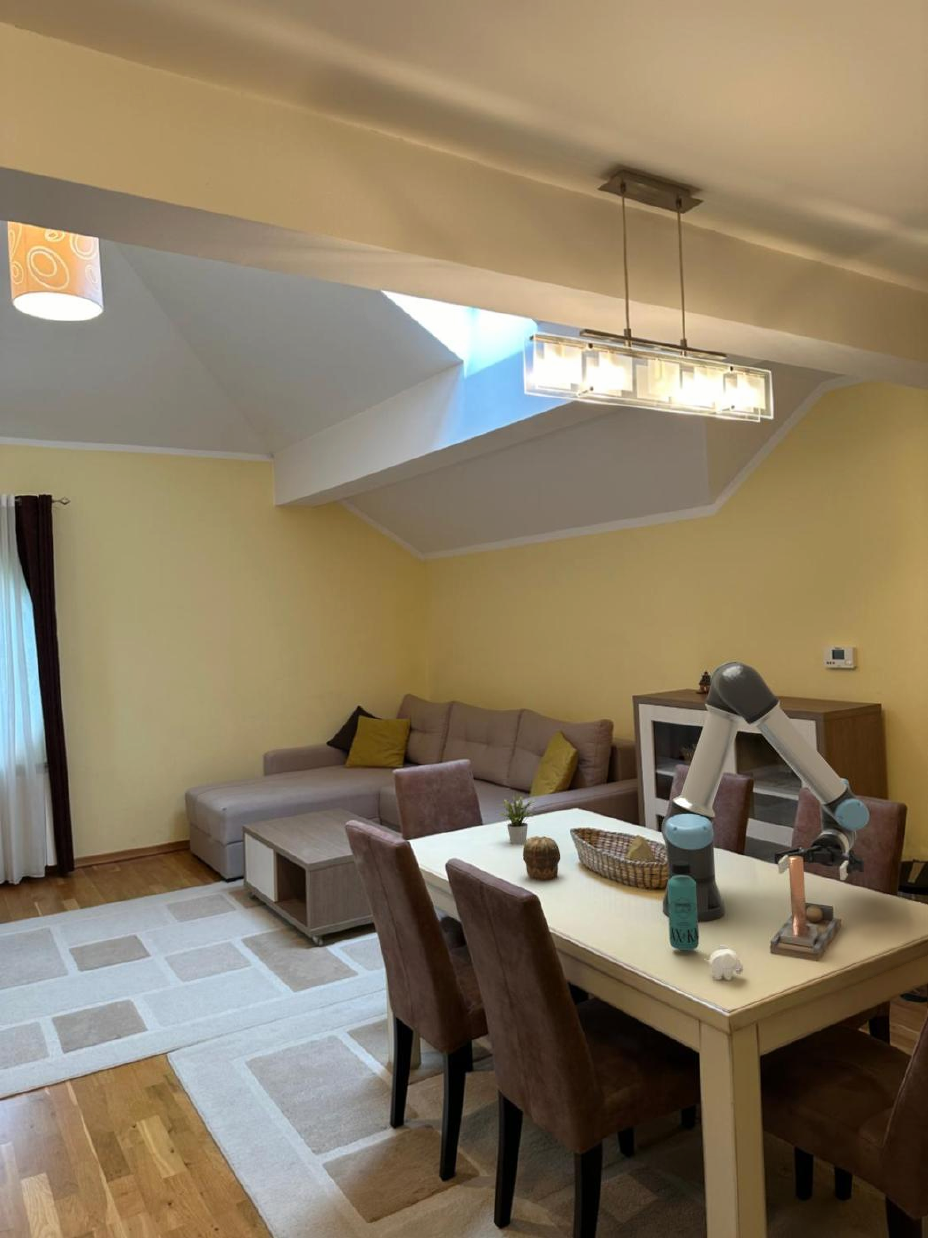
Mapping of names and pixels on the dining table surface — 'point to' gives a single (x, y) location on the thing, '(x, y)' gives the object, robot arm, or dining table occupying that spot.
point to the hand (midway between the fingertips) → (810, 871)
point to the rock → (640, 850)
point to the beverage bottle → (682, 908)
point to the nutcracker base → (826, 927)
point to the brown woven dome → (541, 858)
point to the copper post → (799, 909)
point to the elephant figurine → (724, 963)
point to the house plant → (517, 821)
